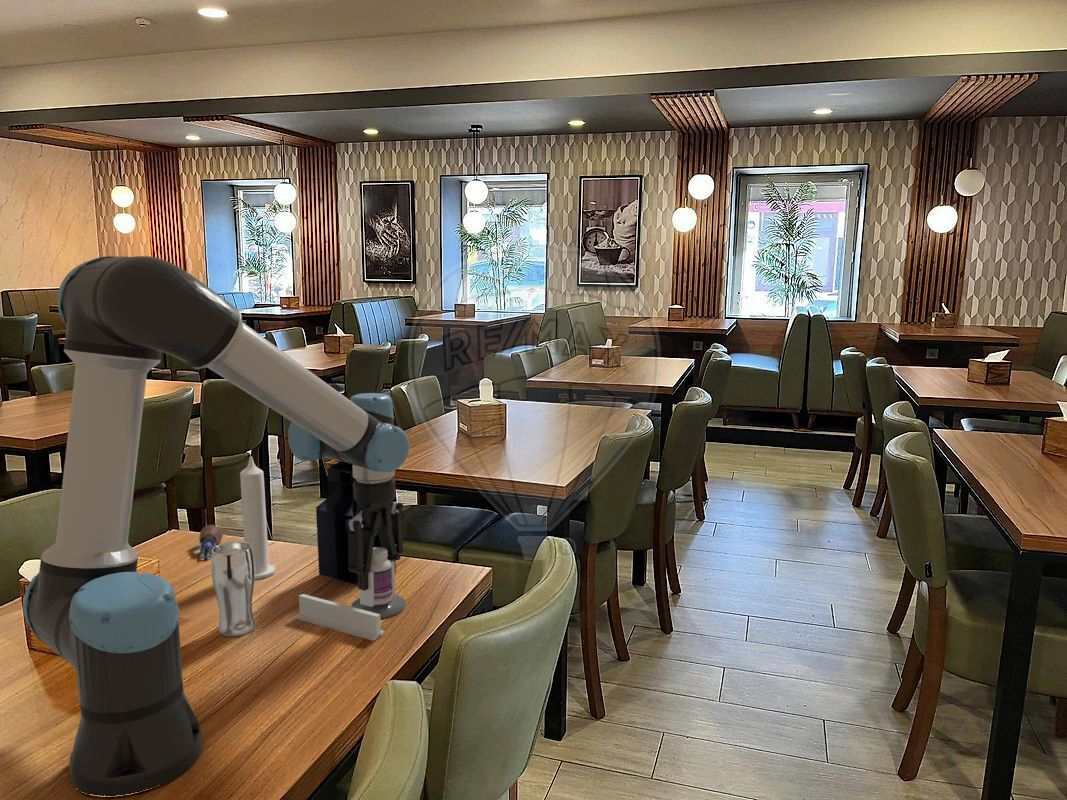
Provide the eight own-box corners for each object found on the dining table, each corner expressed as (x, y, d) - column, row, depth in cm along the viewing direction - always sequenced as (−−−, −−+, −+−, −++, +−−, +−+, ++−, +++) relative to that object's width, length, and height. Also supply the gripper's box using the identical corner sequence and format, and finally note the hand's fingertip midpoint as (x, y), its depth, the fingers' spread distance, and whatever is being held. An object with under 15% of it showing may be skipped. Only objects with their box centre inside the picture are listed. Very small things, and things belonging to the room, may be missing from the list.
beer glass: (243, 640, 133) (238, 556, 130) (207, 636, 134) (201, 553, 132) (265, 622, 139) (260, 542, 137) (230, 618, 141) (225, 539, 138)
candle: (268, 579, 158) (261, 460, 154) (234, 579, 159) (226, 460, 155) (280, 566, 165) (274, 452, 161) (247, 566, 166) (240, 452, 161)
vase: (361, 553, 173) (355, 398, 168) (400, 563, 167) (395, 403, 162) (312, 574, 161) (304, 408, 156) (353, 586, 155) (346, 414, 150)
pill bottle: (398, 598, 146) (397, 549, 145) (378, 608, 142) (377, 557, 140) (377, 592, 149) (375, 543, 147) (357, 601, 144) (355, 552, 143)
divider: (373, 641, 132) (372, 618, 132) (295, 618, 141) (294, 597, 140) (384, 633, 135) (384, 612, 134) (308, 612, 143) (306, 591, 143)
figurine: (219, 566, 171) (225, 540, 182) (217, 545, 169) (223, 520, 180) (193, 569, 169) (200, 543, 180) (190, 547, 168) (197, 522, 179)
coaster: (382, 623, 139) (382, 620, 139) (339, 611, 144) (339, 608, 143) (416, 602, 148) (416, 599, 147) (375, 592, 152) (375, 589, 152)
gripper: (355, 493, 132) (360, 622, 135) (421, 469, 148) (423, 585, 151) (322, 487, 135) (328, 613, 139) (390, 465, 151) (393, 578, 155)
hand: (378, 598), depth 145 cm, fingers closed on pill bottle, 5 cm apart
